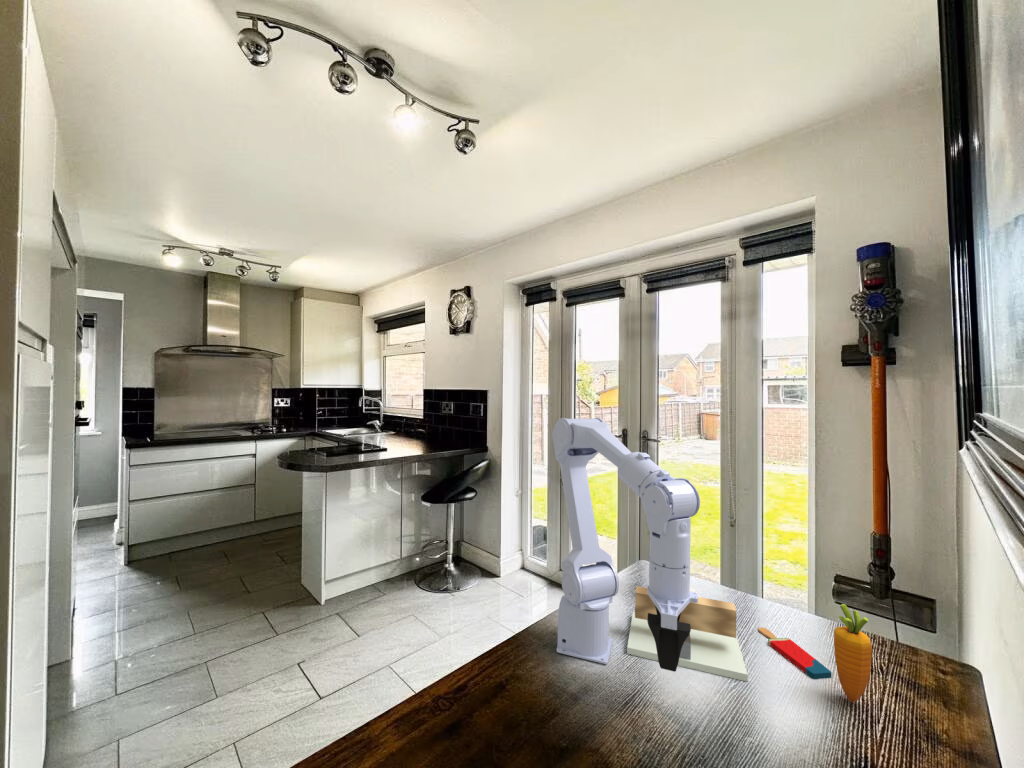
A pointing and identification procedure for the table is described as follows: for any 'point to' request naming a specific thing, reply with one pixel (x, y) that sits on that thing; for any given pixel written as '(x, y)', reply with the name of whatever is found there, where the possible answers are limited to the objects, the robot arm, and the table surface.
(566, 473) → the robot arm
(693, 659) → the balance stand
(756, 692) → the table surface
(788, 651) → the popsicle
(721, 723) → the table surface
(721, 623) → the wooden block
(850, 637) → the carrot
